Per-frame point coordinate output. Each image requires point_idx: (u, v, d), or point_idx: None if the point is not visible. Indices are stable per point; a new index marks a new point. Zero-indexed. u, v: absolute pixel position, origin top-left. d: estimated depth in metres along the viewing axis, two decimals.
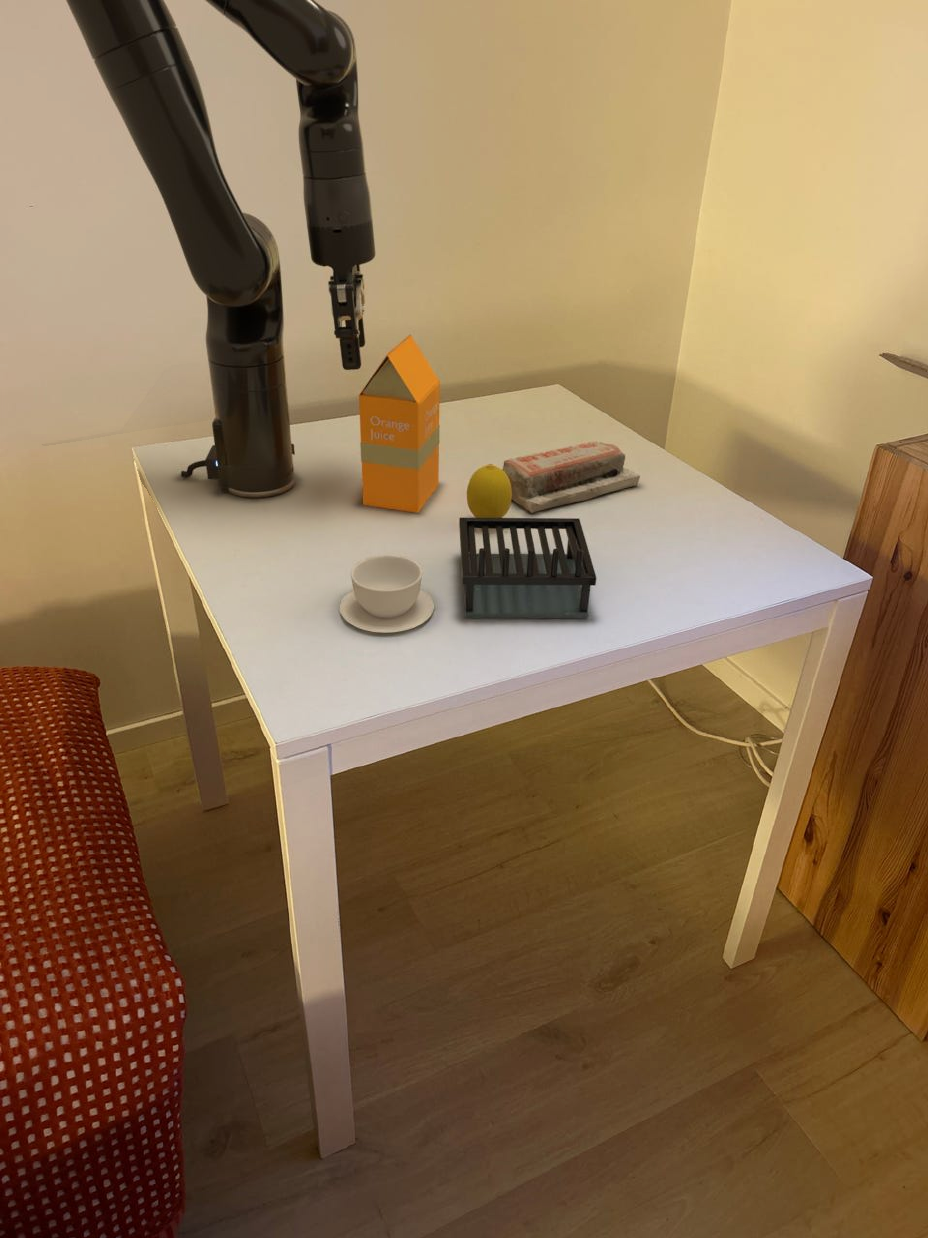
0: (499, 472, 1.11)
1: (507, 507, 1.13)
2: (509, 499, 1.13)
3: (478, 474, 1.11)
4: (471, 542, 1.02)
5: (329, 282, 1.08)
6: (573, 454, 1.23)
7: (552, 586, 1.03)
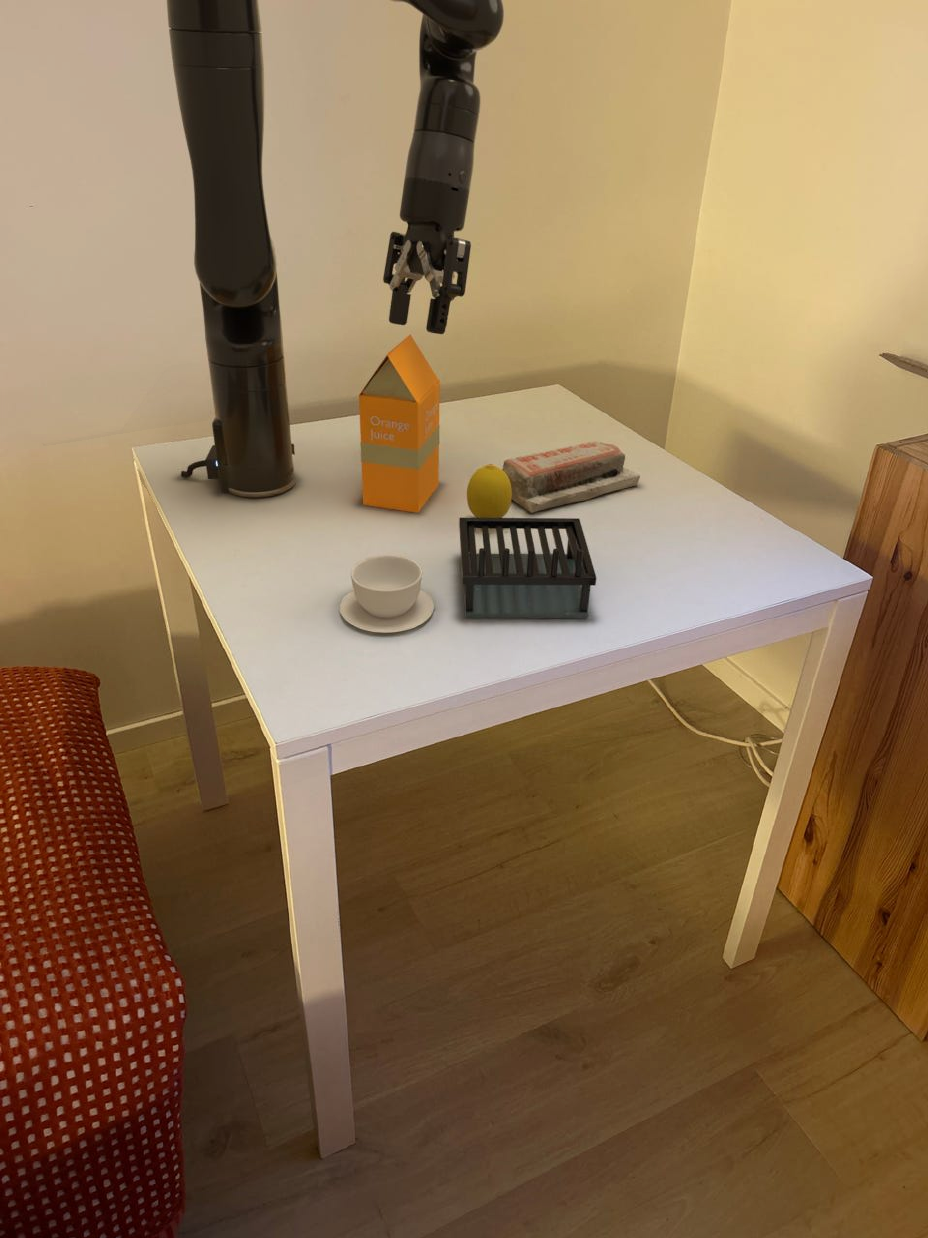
0: (499, 472, 1.11)
1: (507, 507, 1.13)
2: (509, 499, 1.13)
3: (478, 474, 1.11)
4: (471, 542, 1.02)
5: (422, 242, 1.05)
6: (573, 454, 1.23)
7: (552, 586, 1.03)
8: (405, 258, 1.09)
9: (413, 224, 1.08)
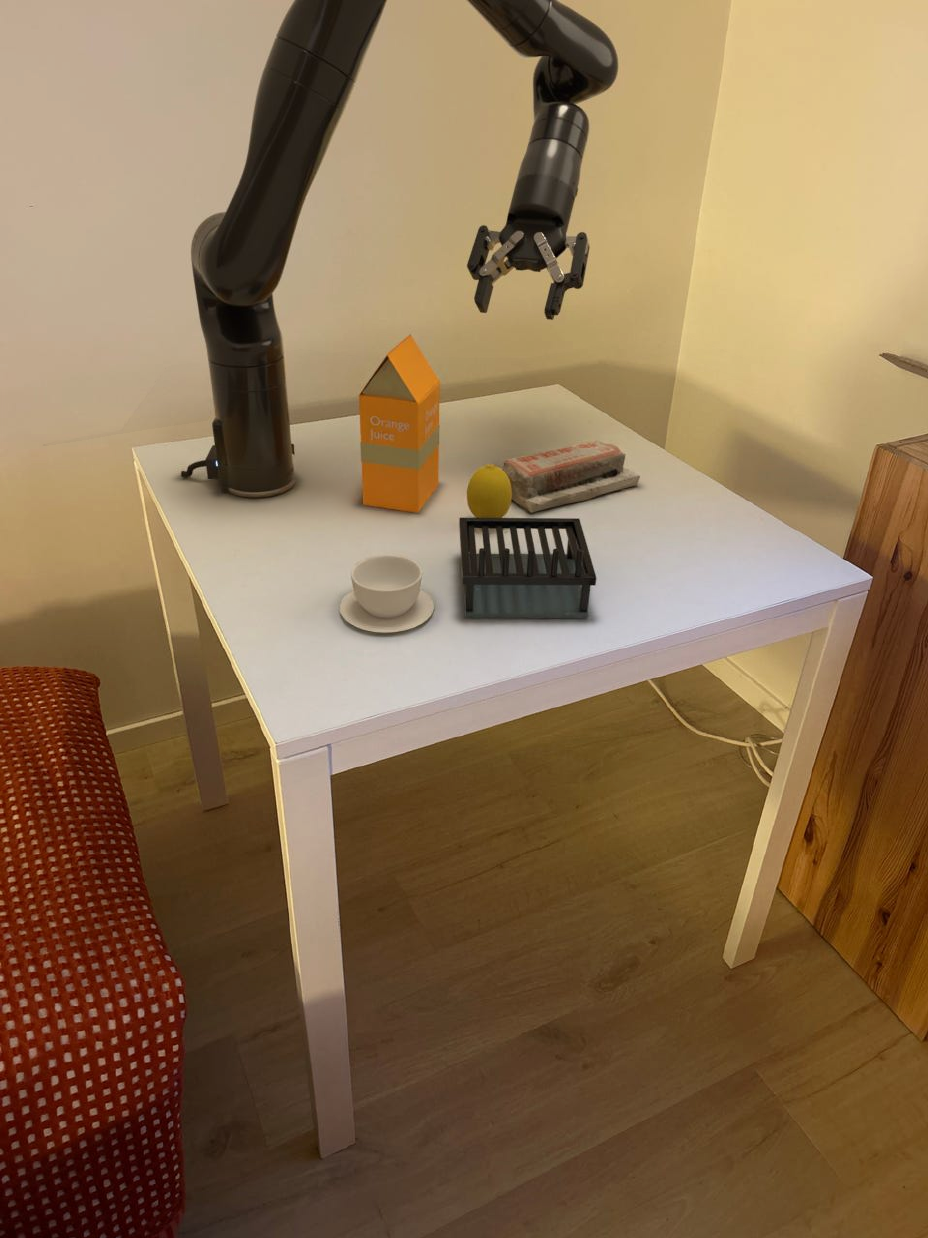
0: (499, 472, 1.11)
1: (507, 507, 1.13)
2: (509, 499, 1.13)
3: (478, 474, 1.11)
4: (471, 542, 1.02)
5: (542, 233, 1.11)
6: (573, 454, 1.23)
7: (552, 586, 1.03)
8: (511, 246, 1.12)
9: (521, 219, 1.12)
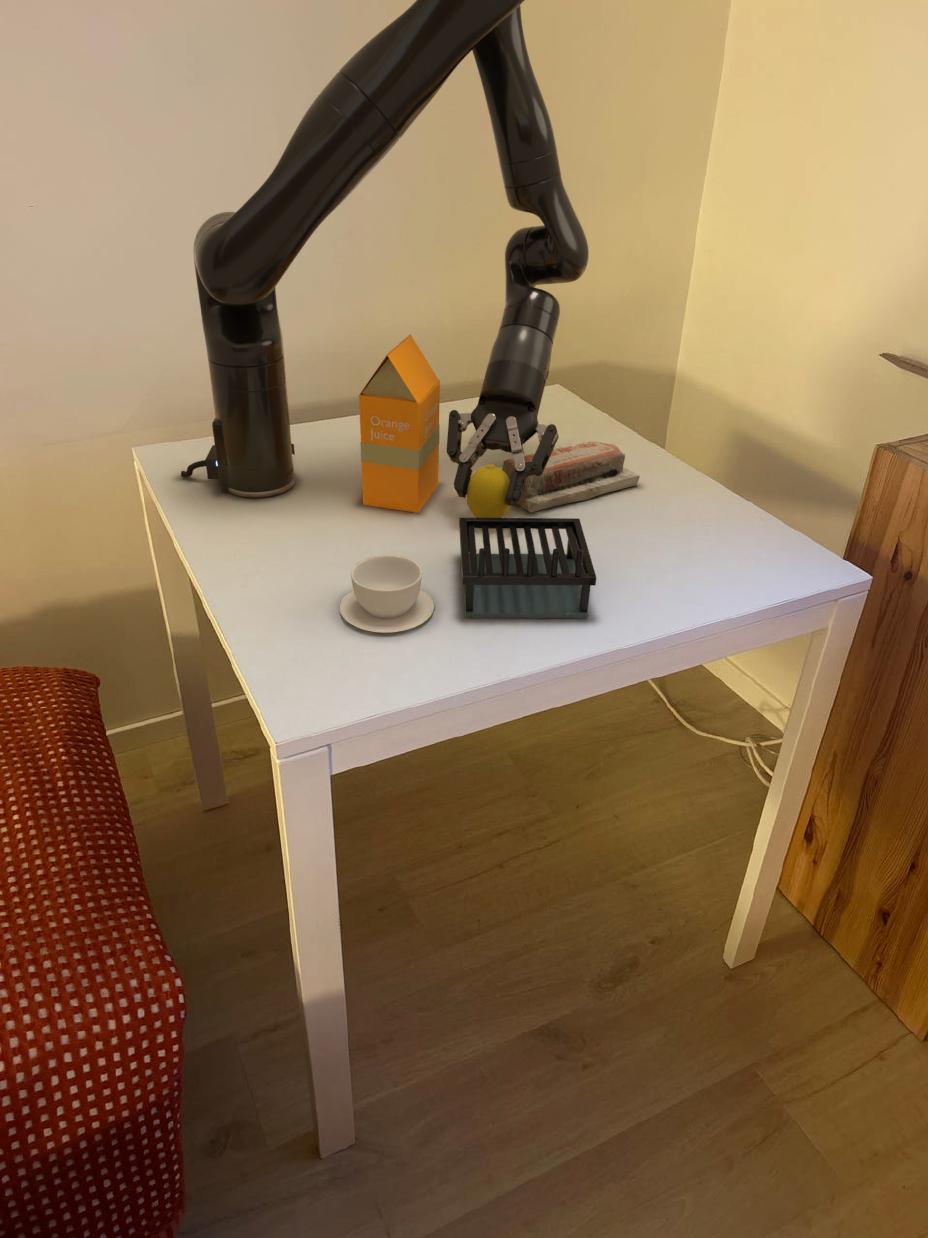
0: (499, 472, 1.11)
1: (507, 507, 1.13)
2: None
3: (478, 475, 1.11)
4: (471, 542, 1.02)
5: (515, 418, 1.12)
6: (573, 454, 1.23)
7: (552, 586, 1.03)
8: (484, 429, 1.12)
9: (493, 401, 1.13)
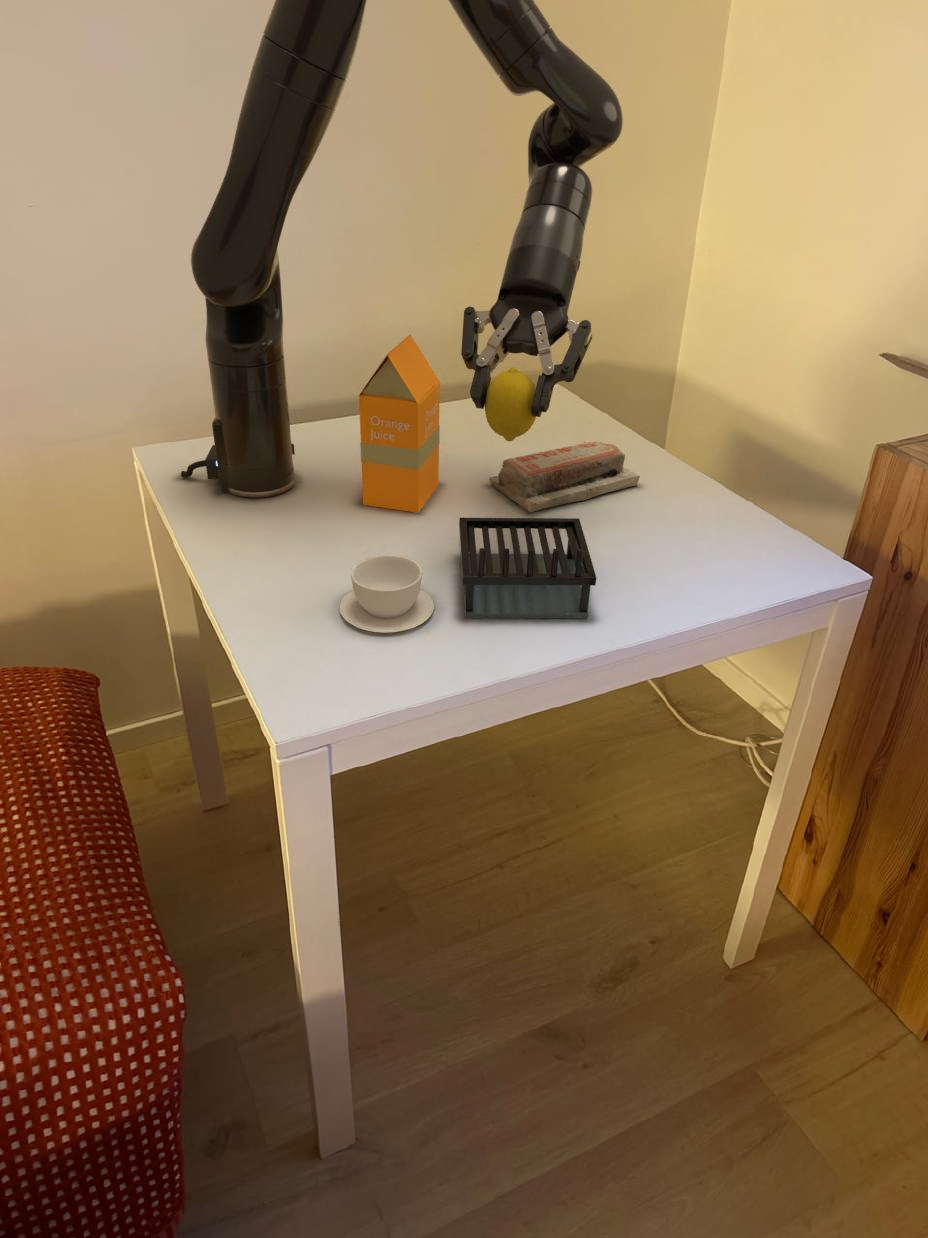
0: (523, 376, 0.95)
1: (532, 419, 0.96)
2: None
3: (498, 379, 0.95)
4: (471, 542, 1.02)
5: (542, 313, 0.95)
6: (573, 454, 1.23)
7: (552, 586, 1.03)
8: (505, 326, 0.96)
9: (515, 295, 0.97)
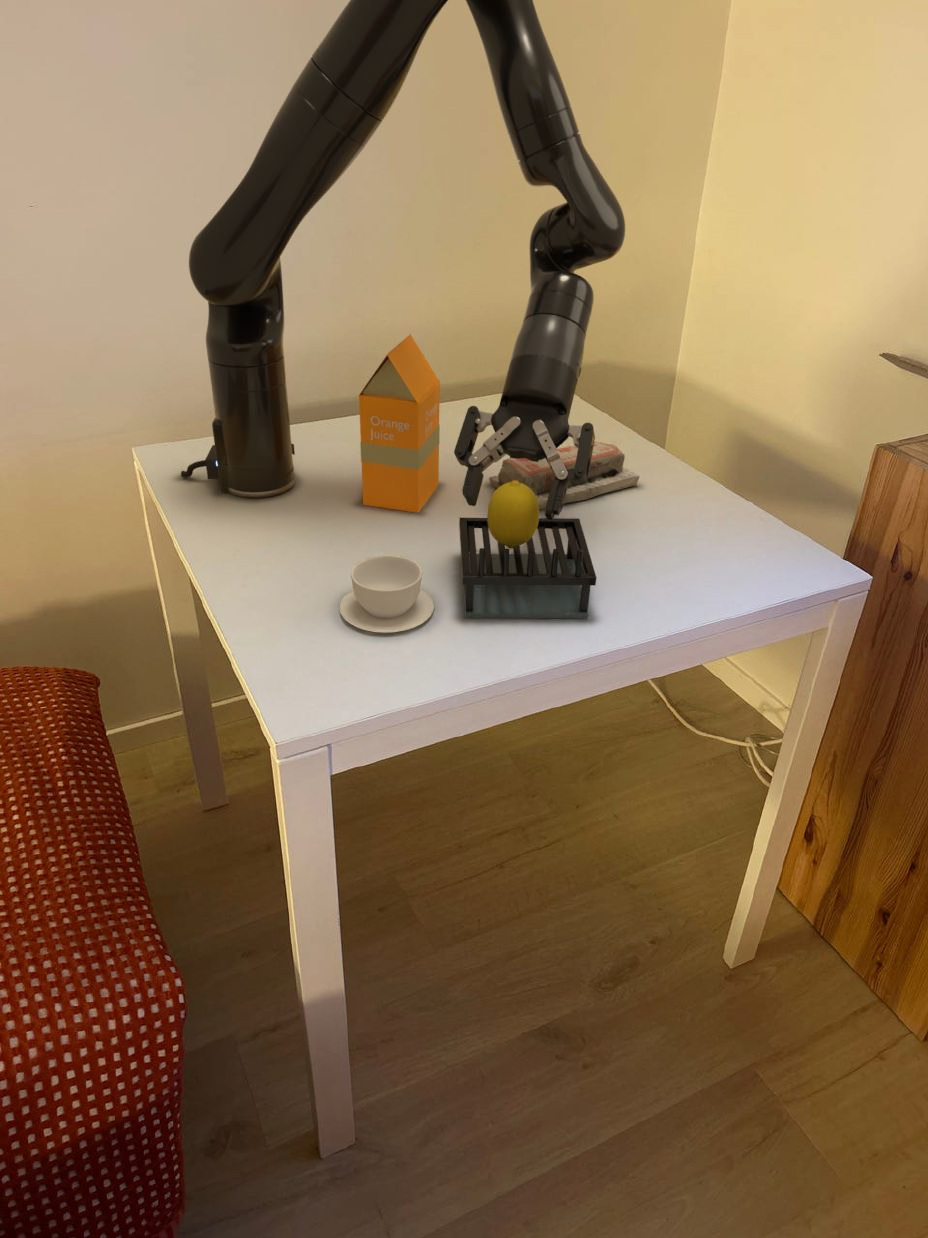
0: (525, 489, 0.96)
1: (534, 530, 0.98)
2: (536, 521, 0.98)
3: (500, 493, 0.96)
4: (471, 542, 1.02)
5: None
6: (572, 454, 1.23)
7: (552, 586, 1.03)
8: (507, 434, 0.97)
9: (517, 403, 0.98)
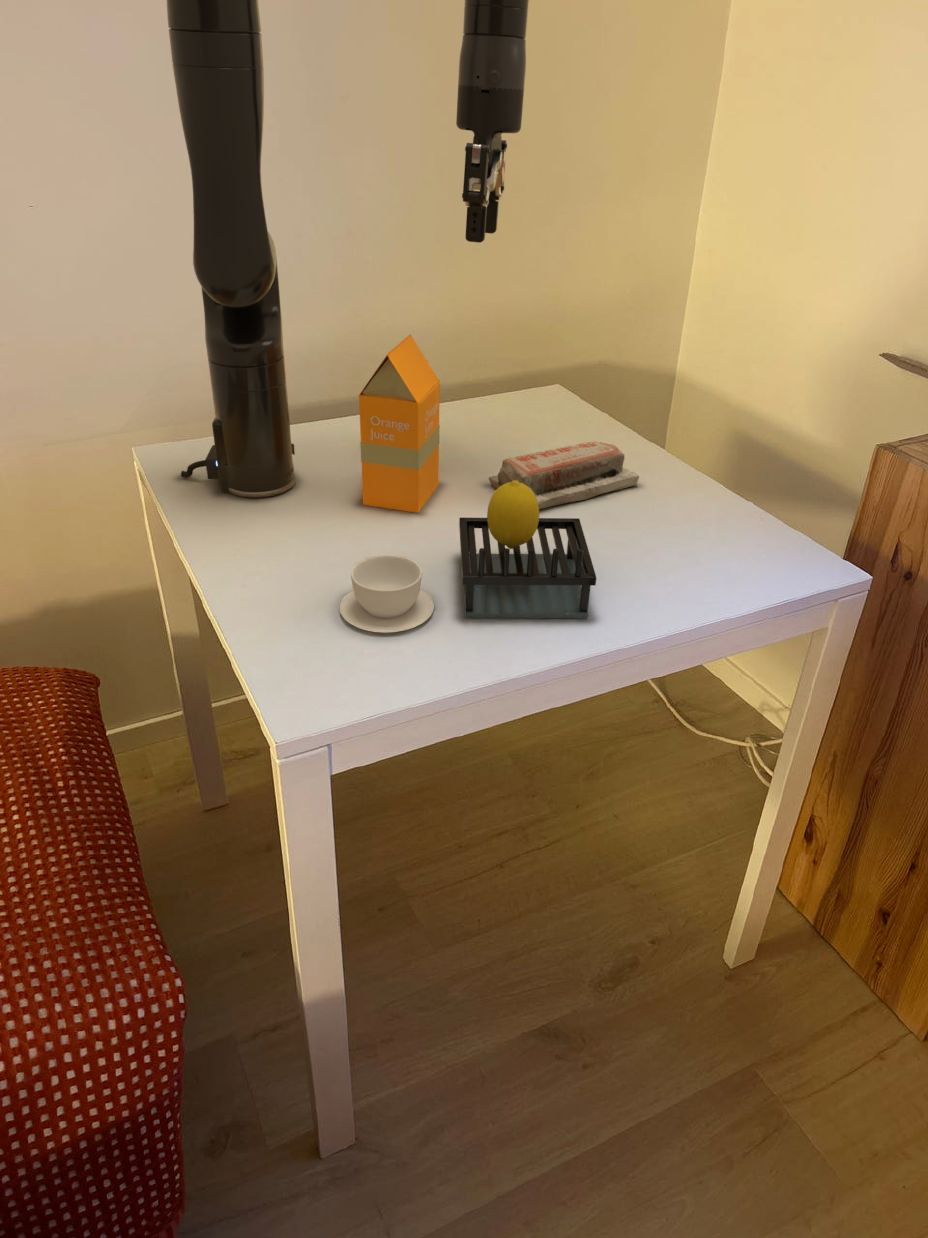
0: (525, 489, 0.96)
1: (534, 530, 0.98)
2: (536, 521, 0.98)
3: (500, 493, 0.96)
4: (471, 542, 1.02)
5: None
6: (572, 454, 1.23)
7: (552, 586, 1.03)
8: None
9: None
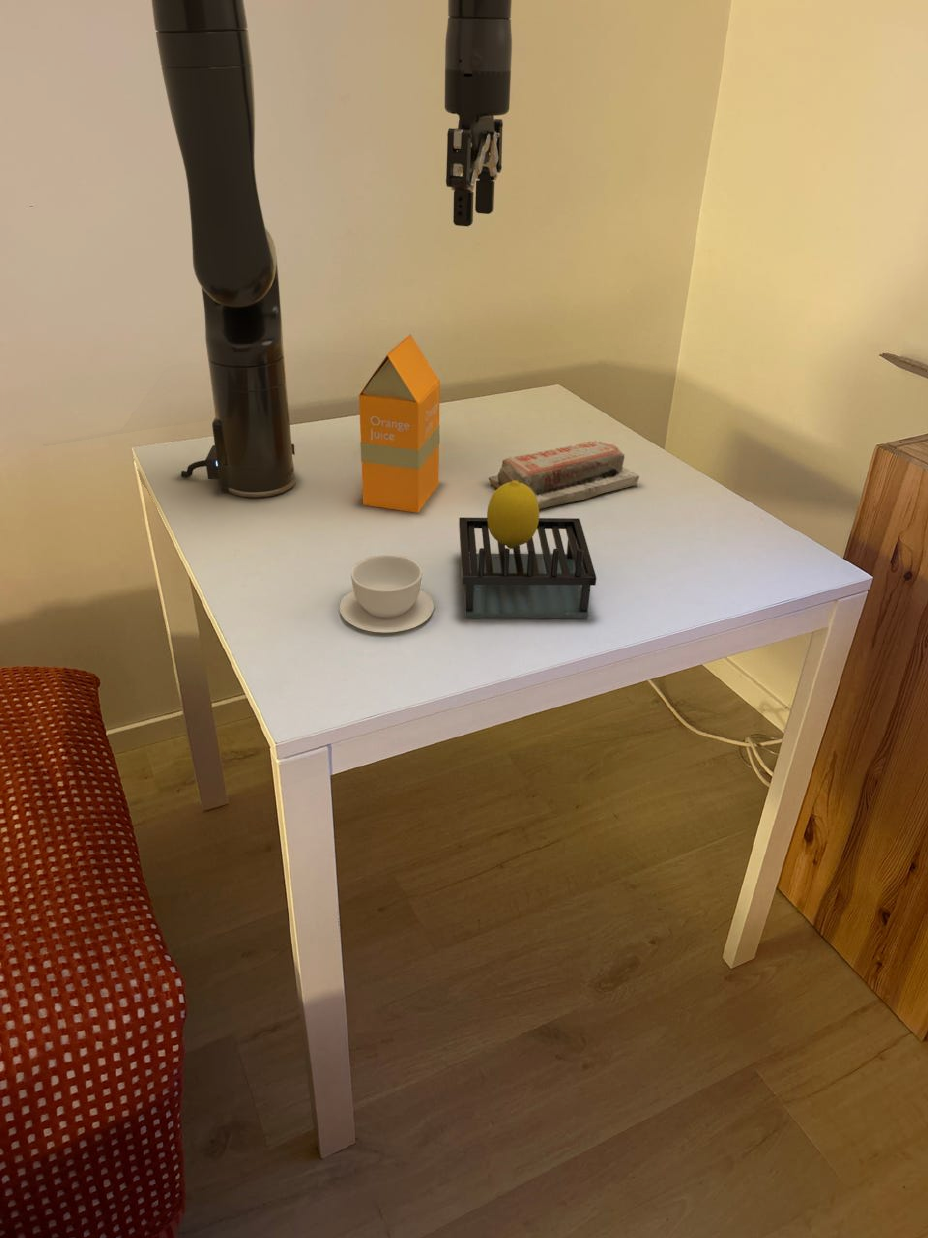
0: (525, 489, 0.96)
1: (534, 530, 0.98)
2: (536, 521, 0.98)
3: (500, 493, 0.96)
4: (471, 542, 1.02)
5: None
6: (572, 454, 1.23)
7: (552, 586, 1.03)
8: None
9: None
